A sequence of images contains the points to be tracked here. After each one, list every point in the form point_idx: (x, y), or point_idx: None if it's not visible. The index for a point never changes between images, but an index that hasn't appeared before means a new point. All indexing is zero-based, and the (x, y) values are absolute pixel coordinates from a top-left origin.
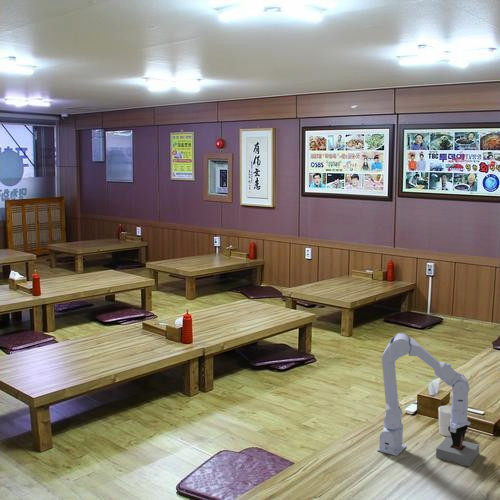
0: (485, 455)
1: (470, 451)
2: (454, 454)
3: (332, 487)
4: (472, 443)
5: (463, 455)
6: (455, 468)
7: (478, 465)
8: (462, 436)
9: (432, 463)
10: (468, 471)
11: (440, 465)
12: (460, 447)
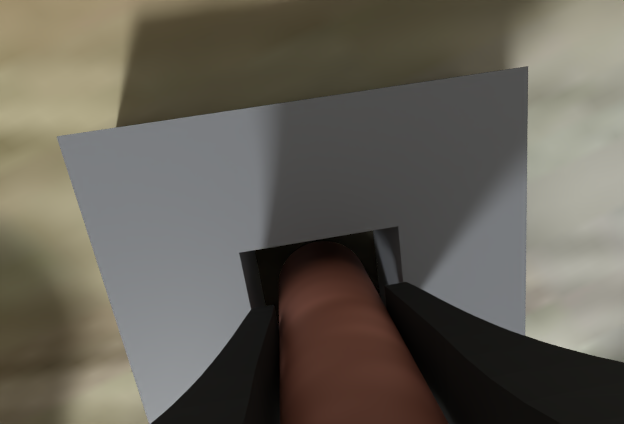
0: (95, 53)
1: (357, 135)
2: (517, 251)
3: None
4: (102, 223)
5: (525, 152)
6: (571, 162)
7: (380, 13)
8: (335, 362)
9: (585, 337)
10: (565, 39)
11: (585, 279)
12: (357, 273)
